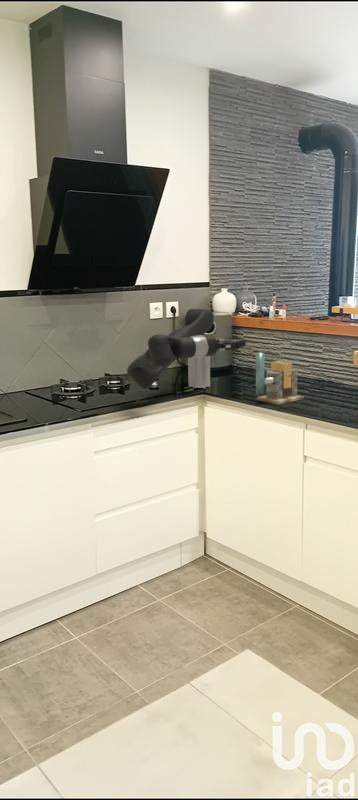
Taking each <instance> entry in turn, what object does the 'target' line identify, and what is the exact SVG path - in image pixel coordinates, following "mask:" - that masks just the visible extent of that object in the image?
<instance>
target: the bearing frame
mask: <svg viewBox="0 0 358 800" xmlns="http://www.w3.org/2000/svg"><path fill="white" fill-rule="evenodd" d="M265 371H266V370H265ZM270 377H275V383H272V384H267V385H265V387H266V390H265V391H266V393H265V394H266V395H262V396H257V397H256V400H257V401H260V402H261V401H262V402H264V403H270V404H274V405H281V404H286V403H292V402H295V401H296V402H297V401H300V400H304V395H299V394H298V370H297V369H293V368H292V377H291V387H290V388H285V389H282V373H281V372H276V371H271V370H267V371H266V376H265V378H270Z"/></svg>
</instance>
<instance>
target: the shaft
mask: <svg viewBox="0 0 358 800" xmlns="http://www.w3.org/2000/svg"><path fill="white" fill-rule="evenodd" d="M265 354H266V353H265V352H260V351H259V352H255V394H258V395H259V394H260V395H262V394H266V393H265V391H266V390H265V387H266V385H267V384H272V383H275V377H270V378H266V376H265V371H266V370H265V369H266V368H265V367H266V366H265V365H266V364H265V361H266V359H265Z"/></svg>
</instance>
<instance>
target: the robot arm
mask: <svg viewBox="0 0 358 800" xmlns="http://www.w3.org/2000/svg"><path fill="white" fill-rule="evenodd" d="M214 321H215V316H214V313H213V312H212V311H211V310H210V309H206V308H190V309H188V310H187V311H186V313H185V318H184V325H185V326H183V327H180V328H178V329H175V330H173V331H172V332H170V333H168V334H163V333H162V334H154V335H152V336H151V337H150V338H149V339H148V341H147V345H148V348H147V350H146V351H145V352H144V353H143V354H141V355H139V356H138V357H136V358H135V359H134V360H133V361H132V362H131V363H130V364H129V365H128V367H127V370H126V372H127V375H128V376H129V377H130V378H131V379H132V380H133V381H134V383H136V384H137V385H138V386H139V387H140V388H141V389H142V390H146V389H149V388H151V386H152V385H153V384H154V383H155V382H156V381H157V380H158V379H159V378H160V377H161V376H162V374H163V373H164V372H165V371H166V370H167V369H168V368H169V366H170V365H171V364H173V363H174V362H175V361H176V360H178V359H179V360H182V359H183V360H184V359H187V360H188V361H187V366H188V367H187V370H188V371H187V374H188V388H189V387H193V388H192V389H194V388H203V389H207V388H206V387H209V388H211V363H210V362H211V357H212V356H215V355H216V353H217V352H218V351H231V350H240V349H241V348H242V347H243V348H244V347H246V344H247V343H246V340H245V339H243V340H242V339H241V340H231V339H230V338H229V337H228V338H219V337H215V335H213V334H211V333H208V331H211V328H212V327H213V325H214ZM206 333H208V334H206Z"/></svg>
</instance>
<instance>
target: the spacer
mask: <svg viewBox="0 0 358 800" xmlns="http://www.w3.org/2000/svg"><path fill="white" fill-rule="evenodd" d="M292 369H293V363H292V362H286V361H282V360H276V361H270V371H276V372H281V373H282V389H285V388H290V387H291V377H292Z"/></svg>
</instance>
